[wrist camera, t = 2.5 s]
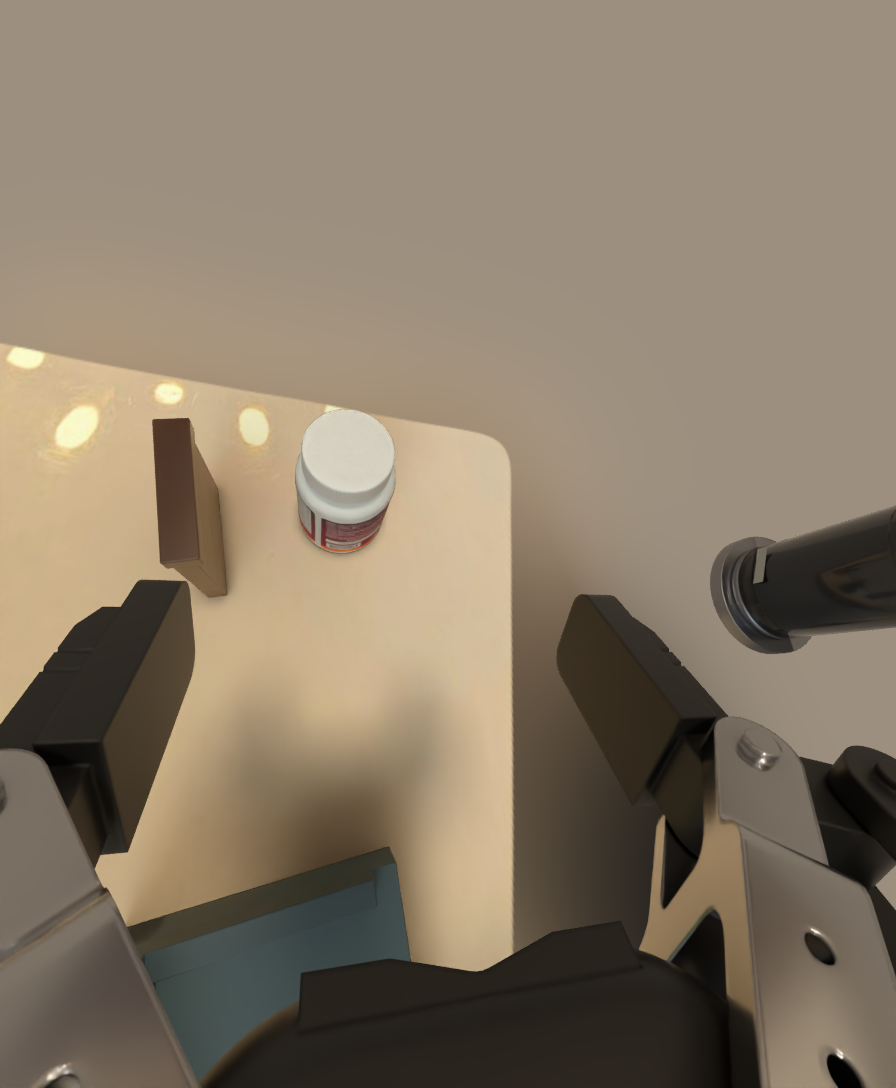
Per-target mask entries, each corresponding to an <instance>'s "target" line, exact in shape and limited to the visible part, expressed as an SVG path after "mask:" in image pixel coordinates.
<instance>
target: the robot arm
mask: <svg viewBox="0 0 896 1088" xmlns="http://www.w3.org/2000/svg"><path fill="white" fill-rule="evenodd" d="M732 586H733V593H734V597H735V600H736V603H737V605H738V607H739V609H740V611H741V613H742V615H743V616H744V618H745V619H746V620H747V622H748V623H749V624H750V625H751V626H752V627H753V628H754V629H756V630H757V631H758V632H760V633H761V634H763V635H764V636H767V637H769V638H772V639H776V640H787V639H794V638H797V637H806V636H816V635H826V634H837V633H846V632H855V631H865V630H875V629H884V628H894V627H896V506H893V507H890V508H887V509H884V510H880V511H877V512H874V513H871V514H867V515H864V516H861V517H858V518H855V519H851V520H848V521H845V522H842V523H839V524H835V525H832V526H829V527H826V528H822V529H819V530H816V531H813V532H810V533H806V534H803V535H800V536H797V537H793V538H790V539H786V540H783V541H780V542H777V543H774V544H770V545H767V546H764V547H758V548H754V549H751V550H749V551H747V552H745V553H744V554H743V555H742V556H741V557H740V558H739V559H738V561H737V563H736V565H735V567H734V571H733V577H732ZM194 660H195V641H194V630H193V619H192V609H191V598H190V589H189V585H188V583H187V582H186V581H167V580H139V581H138V582H137V583H136V584H135V586H134V587H133V589H132V590H131V592H130V593H129V595H128V597H127V598H126V600H125V601H124V603H123V604H122V606H121V607H101V608H100V609H98V610H97V611H95V612H94V613H92V614H91V615H89V616H88V617H86V618H85V619H83V620H82V621H80V622H79V623H77V624H76V625H75V626H74V627H73V628H72V630H71V631H70V632H69V634H68V635H67V636H66V638H65V639H64V640H63V642H62V643H61V644H60V646H59V647H58V652H54V654H53V655H52V656H51V658H50V659H49V660H48V662H47V663H46V664H45V666H44V670H43V672H39V674H38V675H37V676H36V678H35V679H34V680H33V682H32V683H31V684H30V686H29V687H28V688H27V690H26V691H25V692H24V694H23V695H22V696H21V698H20V699H19V700H18V702H17V703H16V704H15V706H14V707H13V708H12V710H11V711H10V712H9V714H8V715H7V716H6V718H5V719H4V720H3V722H2V723H1V724H0V1088H896V910H895V909H894V908H893V906H891V904H890V903H889V902H888V900H887V899H886V898H885V897H884V896H883V894H882V893H881V892H880V891H879V890H878V888H877V887H876V886H875V885H876V884H877V883H878V882H879V881H880V880H881V879H882V878H883V877H884V876H885V875H886V874H887V873H888V872H889V871H890V870H891V869H892V868H894V866H896V759H894V758H893V757H891V756H889V755H887V754H885V753H882V752H880V751H877V750H875V749H871V748H868V747H864V746H850V747H848V748H846V750H844V752H843V753H842V754H841V755H840V757H839V758H838V759H837V761H836V762H835V763H834V764H833V765H832V764H828V763H823V762H819V761H815V760H811V759H806V758H803V757H799V756H798V755H797V754H796V752H795V751H794V750H793V749H792V748H791V747H790V746H789V745H788V744H787V743H786V742H785V741H784V740H783V739H781V738H780V737H779V736H778V735H776V734H775V733H773V732H772V731H770V730H769V729H767V728H765V727H764V726H762V725H759V724H757V723H755V722H753V721H750V720H747V719H744V718H740V717H728V715H727V714H726V713H725V712H724V711H723V710H722V709H721V708H720V706H719V705H718V704H717V703H716V702H715V701H714V700H713V698H712V697H711V696H710V695H709V694H708V693H707V691H706V690H705V689H704V688H703V687H702V686H701V685H700V684H699V682H698V681H697V680H696V679H695V678H694V677H693V676H692V674H691V673H690V672H689V671H688V670H687V669H686V668H685V667H684V666H681V662H680V661H679V660H678V659H677V657H676V656H675V655H674V654H673V653H672V652H669V649H668V647H667V646H666V645H665V644H664V643H663V641H662V640H661V639H660V638H659V637H658V636H657V635H656V634H655V632H653V631H652V630H650V629H649V628H648V627H646V626H645V625H644V624H642V623H641V622H639V621H638V620H636V619H635V618H633V617H632V616H631V615H630V614H629V612H628V611H627V610H626V609H625V608H624V607H623V605H622V604H621V603H620V602H619V601H618V600H617V599H616V598H615V597H614V596H611V595H584V594H581V595H579V596H577V597H576V598H575V600H574V602H573V605H572V607H571V611H570V613H569V616H568V619H567V622H566V625H565V628H564V630H563V633H562V636H561V639H560V642H559V645H558V649H557V667H558V671H559V673H560V676H561V677H562V679H563V681H564V683H565V685H566V686H567V688H568V690H569V692H570V694H571V696H572V697H573V699H574V701H575V703H576V705H577V707H578V708H579V710H580V712H581V714H582V716H583V717H584V719H585V721H586V723H587V725H588V726H589V728H590V730H591V732H592V733H593V736H594V737H595V739H596V741H597V743H598V745H599V746H600V748H601V750H602V752H603V753H604V755H605V757H606V759H607V761H608V763H609V765H610V766H611V768H612V770H613V772H614V774H615V775H616V777H617V779H618V781H619V783H620V784H621V786H622V788H623V790H624V791H625V794H626V795H627V797H628V799H629V801H630V803H631V804H632V806H633V807H635V806H646V805H656V804H658V806H659V808H660V809H661V811H662V815H661V817H660V818H659V820H658V822H657V827H656V837H655V850H654V861H653V873H652V886H651V897H650V909H649V919H648V924H647V928H646V932H645V935H644V938H643V940H642V943H641V946H640V949H639V950H638V949H635V948H632V945H631V943H630V941H629V938H628V936H627V934H626V931H625V929H624V927H623V925H622V922H621V921H617V922H611V923H604V924H598V925H592V926H586V927H580V928H574V929H568V930H561V931H556V932H551V933H549V934H548V935H546V936H544V937H543V938H541V939H539V940H538V941H536V942H534V943H532V944H530V945H529V946H527V947H525V948H523V949H521V950H520V951H518V952H516V953H514V954H513V955H511V956H509V957H507V958H506V959H504V960H502V961H500V962H499V963H497V964H495V965H493V966H492V967H490V968H488V969H486V970H483V971H478V972H475V971H466V970H460V969H454V968H447V967H441V966H435V965H429V964H422V963H416V962H410V961H404V960H398V959H391V958H389V959H383V960H377V961H371V962H364V963H358V964H352V965H346V966H340V967H334V968H327V969H321V970H315V971H309V972H303V973H301V978H300V995H299V1001H297V1002H295V1003H293V1004H292V1005H290V1006H288V1007H286V1008H284V1009H282V1010H280V1011H278V1012H276V1013H275V1014H274V1015H272V1016H271V1017H269V1018H268V1019H266V1020H265V1021H263V1022H262V1023H260V1024H259V1025H258V1026H256V1027H255V1028H253V1029H252V1030H251V1031H250V1032H249V1033H247V1034H246V1035H245V1036H244V1037H243V1038H242V1039H240V1040H239V1041H238V1042H237V1043H236V1044H235V1045H233V1046H232V1047H231V1048H230V1049H229V1050H228V1051H227V1052H226V1053H225V1054H224V1055H223V1056H222V1057H221V1058H220V1059H219V1061H218V1062H217V1063H216V1064H215V1065H214V1066H213V1067H212V1068H211V1069H210V1070H209V1071H208V1072H207V1073H206V1074H205V1076H204V1077H203V1078H202V1079H201V1081H200V1082H199V1083H198V1080H197V1078H196V1076H195V1074H194V1072H193V1070H192V1067H191V1065H190V1063H189V1061H188V1059H187V1057H186V1054H185V1052H184V1050H183V1048H182V1046H181V1044H180V1041H179V1039H178V1037H177V1035H176V1033H175V1031H174V1028H173V1026H172V1024H171V1022H170V1020H169V1018H168V1016H167V1013H166V1011H165V1009H164V1007H163V1005H162V1003H161V1000H160V998H159V996H158V994H157V992H156V990H155V987H154V985H153V983H152V981H151V979H150V977H149V974H148V972H147V970H146V968H145V966H144V964H143V961H142V959H141V957H140V955H139V953H138V951H137V948H136V946H135V944H134V942H133V940H132V938H131V935H130V933H129V931H128V929H127V927H126V925H125V922H124V920H123V918H122V916H121V914H120V912H119V909H118V907H117V905H116V903H115V901H114V899H113V897H112V896H111V894H110V892H109V890H108V889H107V888H103V886H102V884H101V882H100V880H99V878H98V876H97V874H96V872H95V867H96V864H97V862H98V859H99V857H100V855H104V854H115V853H125V852H128V850H129V848H130V845H131V842H132V839H133V837H134V834H135V831H136V828H137V826H138V823H139V820H140V817H141V815H142V812H143V809H144V806H145V804H146V801H147V798H148V795H149V793H150V790H151V787H152V784H153V782H154V779H155V776H156V773H157V771H158V768H159V765H160V762H161V760H162V757H163V754H164V751H165V749H166V746H167V743H168V740H169V738H170V735H171V732H172V729H173V727H174V724H175V721H176V718H177V716H178V713H179V710H180V707H181V705H182V702H183V699H184V696H185V694H186V691H187V688H188V685H189V683H190V680H191V677H192V672H193V667H194Z"/></svg>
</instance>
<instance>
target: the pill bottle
mask: <svg viewBox="0 0 896 1088" xmlns="http://www.w3.org/2000/svg"><path fill="white" fill-rule="evenodd" d="M394 461H395V448H394V443H393V441H392V438H391V436H390V434H389V432H388V431H387V430H386V428H385V427H384V426H383V425H382V424H381V423H380V422H379V421H378V420H376V419H375V418H373V417H372V416H370V415H368V414H366V413H363V412H360V411H356V410H350V409H340V410H334V411H330V412H327V413H325V414H323V415H321V416H320V417H318V418H317V419H315V420H314V421H313V422H312V423H311V424H310V425H309V427H308V428H307V430H306V432H305V434H304V436H303V440H302V447H301V453H300V455H299V457H298V460H297V463H296V469H295V484H296V490H297V499H298V508H299V516H300V521H301V525H302V528H303V530H304V532H305V533H306V535H307V536H308V538H309V539H310V540H311V541H312V542H313V543H315V544H316V545H317V546H319V547H321V548H323V549H325V550H327V551H330V552H335V553H348V552H353V551H356V550H359V549H361V548H363V547H364V546H366V545H367V544H368V543H370V542H371V541H372V540H373V539H374V537H375V536H376V534H377V533H378V531H379V529H380V526H381V524H382V521H383V518H384V516H385V513H386V510H387V508H388V505H389V502H390V500H391V498H392V495H393V493H394V489H395V483H396V471H395V466H394Z"/></svg>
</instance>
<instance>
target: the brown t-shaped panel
mask: <svg viewBox="0 0 896 1088" xmlns="http://www.w3.org/2000/svg"><path fill="white" fill-rule="evenodd" d="M152 425H153V443H154V461H155V479H156V497H157V515H158V533H159V551H160V563H161V564H162V565H163V566H165V567H166V568H168V569H169V568H174V569H175V570H177V571H178V572H179V573H180V574H181V575H183V576H184V577H185V578H186V579H187V580H189V581H190V582H191V583H192V584H193V585H195V586H196V587H197V588H198V589H199V590H201V591H202V592H203V593H204V594H205V595H207V596H208V597H216V596H223V595H227V587H226V575H225V564H224V552H223V541H222V529H221V518H220V507H219V495H218V488H217V486H216V484H215V482H214V480H213V478H212V476H211V474H210V472H209V470H208V468H207V466H206V464H205V462H204V460H203V458H202V456H201V454H200V452H199V450H198V448H197V446H196V444H195V435H194V428H193V426H192V424H191V421H190V419H189V418H176V419H153V421H152Z"/></svg>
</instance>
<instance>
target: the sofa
mask: <svg viewBox="0 0 896 1088" xmlns="http://www.w3.org/2000/svg"><path fill="white" fill-rule="evenodd" d="M127 929H128V931H129V933H130V935H131V938H132V940H133V942H134V944H135V946H136V948H137V951H138V953H139V955H140V957H141V959H142V961H143V964H144V966H145V968H146V970H147V972H148V974H149V977H150V979H151V981H152V983H153V985H154V987H155V990H156V992H157V994H158V996H159V998H160V1000H161V1003H162V1005H163V1007H164V1009H165V1011H166V1013H167V1016H168V1018H169V1020H170V1022H171V1024H172V1026H173V1028H174V1031H175V1033H176V1035H177V1037H178V1039H179V1041H180V1044H181V1046H182V1048H183V1050H184V1052H185V1054H186V1057H187V1059H188V1061H189V1063H190V1065H191V1067H192V1070H193V1072H194V1074H195V1076H196V1078H197V1080H198V1083H199V1082H200V1081H201V1079H202V1078H203V1077H204V1076H205V1074H206V1073H207V1072H208V1071H209V1070H210V1069H211V1068H212V1067H213V1066H214V1065H215V1064H216V1063H217V1062H218V1061H219V1059H220V1058H221V1057H222V1056H223V1055H224V1054H225V1053H226V1052H227V1051H228V1050H229V1049H230V1048H231V1047H232V1046H233V1045H235V1044H236V1043H237V1042H238V1041H239V1040H240V1039H242V1038H243V1037H244V1036H245V1035H246V1034H247V1033H249V1032H250V1031H251V1030H252V1029H253V1028H255V1027H256V1026H258V1025H259V1024H260V1023H262V1022H263V1021H265V1020H266V1019H268V1018H269V1017H271V1016H272V1015H274V1014H275V1013H276V1012H278V1011H280V1010H282V1009H284V1008H286V1007H288V1006H290V1005H292V1004H293V1003H295V1002H297V1001H299V995H300V978H301V973H303V972H309V971H315V970H321V969H327V968H334V967H340V966H346V965H352V964H358V963H364V962H371V961H377V960H383V959H389V958H391V959H398V960H404V961H410V962H411V958H410V951H409V945H408V938H407V931H406V925H405V918H404V912H403V905H402V898H401V892H400V885H399V878H398V872H397V865H396V861H395V859H394V857H393V855H392V852H391V850H390V848H389V847H386V848H383V849H380V850H377V851H374V852H370V853H367V854H364V855H361V856H357V857H354V858H351V859H348V860H344V861H341V862H338V863H335V864H332V865H328V866H325V867H322V868H319V869H315V870H312V871H309V872H306V873H302V874H299V875H296V876H293V877H290V878H286V879H283V880H280V881H277V882H273V883H270V884H267V885H264V886H260V887H257V888H254V889H251V890H248V891H244V892H241V893H238V894H235V895H231V896H228V897H225V898H222V899H218V900H215V901H212V902H209V903H205V904H202V905H199V906H196V907H193V908H189V909H186V910H183V911H180V912H176V913H173V914H170V915H167V916H163V917H160V918H157V919H154V920H150V921H147V922H144V923H141V924H137V925H134V926H131V927H128V928H127Z"/></svg>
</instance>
